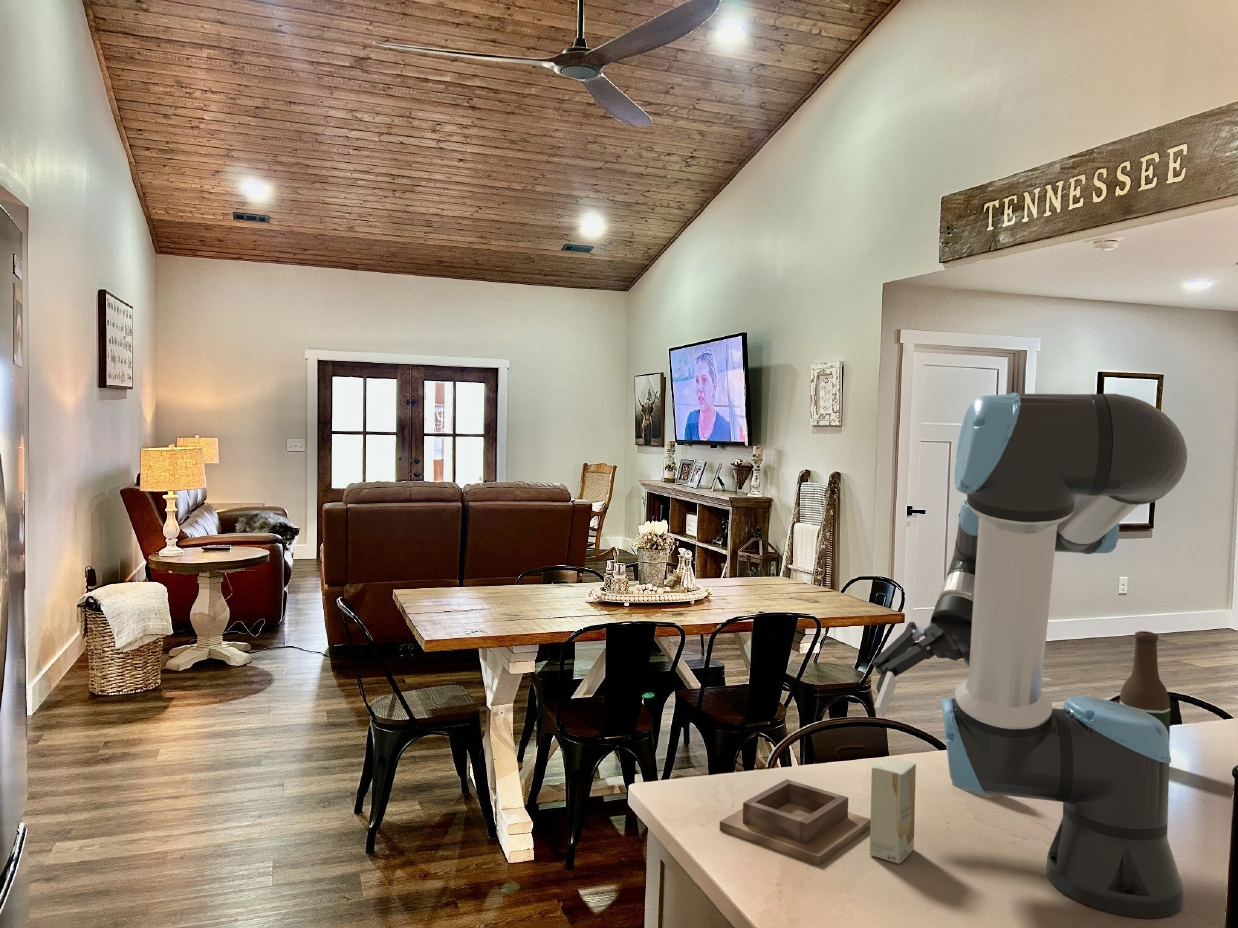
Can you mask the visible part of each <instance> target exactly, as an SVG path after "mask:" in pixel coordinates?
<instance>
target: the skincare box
mask: <svg viewBox="0 0 1238 928" xmlns="http://www.w3.org/2000/svg"><path fill="white" fill-rule="evenodd" d="M916 766H917V763H915V762H911V761H907V760H903V759H900V758H894V757H890V756H886V757H884V758H883V759H882V760H880V761H878V762H877V763H876V764H875V765H873V766H872V767H871V783H870V785H871V786H870V787H871V788H870V792H871V793H870V819H871V823H870V828H869V829H870V834H869V855H870V856H872V857H876V858H879V859H882V860H885V861H888V862H893V863H896V864H901V863H902V862H904V861H905V859H907V858H908V857H909V855H910V854H911V853H912V852H913V851H914V850H915V816H916V815H915V814H916V812H915V811H916V810H915V809H916V772H917V771H916V769H917V767H916Z"/></svg>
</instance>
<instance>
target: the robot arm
mask: <svg viewBox="0 0 1238 928" xmlns="http://www.w3.org/2000/svg"><path fill="white" fill-rule="evenodd" d="M959 432H960V433H959V437H958V442H957V446H956V447H957V449H956V455H955V456H956V457H955V458H956V462H955V467H954V485H955V489H956V490H957V491H958V492H960V493H963V495H966V496H965V497H964V499H963V501H962V504H961V508H960V511H959V513H958V524H957V525H958V526H957V531H956V532H957V533H956V534H957V535H956V539H955V542H954V551H953V555H952V559H951V560H950V561H951V562H950V565H949V568H948V571H947V574H946V575H945V576H946V577H945V579H944V582H943V583H942V587H941V589H940V592H939V595H938V599H937V601H936V604H935V607H934V609H933V612H932V615H931V617H930V621H929V624H928V625H927V626H926V627H923V626H917V625H916V622H914V621H910V622H908V623H907V625H906V627H905V628H904V631H903V632H902V633H901V634H900V635H899V636H898V637H897V638H896V639H895V640H894V641H892V642H891V643H890V644H889V646H887V647H886V648H885V649H884V650H883V651H882V652H881V653H879V655H878V656H877V657H875V658H874V659H873V660H872V661H871V662H872V665H873V667H874V669H875V671H876V672H877V674H879V675H880V676H879V679H878V681H877V684H876V686H875V687H876V691H877V693H878V696H877V697H876V698H877V699H876V701H875V703H874V706H873V707H874V709H875V711H876V713H877V715H878V717H880V718H883V719H884V718H885V716H886V713H887V711H888V707H889V705H890V702H891V700H892V697H893V694H894V691H895V688H896V686H897V684H898V681H897V679H896V677H898V676H900V675H901V674H903V673H904V672H907V670H909V669H911V668H913V667H915V666H916V665H919V664H920V663H922V662H923V661H924V660H930V659H931V658H934V657H935V656H936V658H939V659H949V660H951V661H956V662H957V661H958V660H961V659H963V661H964V662H965V664H966V665H967V667H968V675H967V676H968V677H967V678H964V679H963V680H961V681H960V682H959V683H958V684H957V686H956V687H955V690H954V697H949V698H944V699H943V700H942V701H941V709H942V718H943V720H942V721H943V729H944V736H945V746H946V752H947V753H946V754H947V756H946V757H947V762H948V771H949V777H950V780H951V782H953V783H954V785H956V786H957V788H959V789H961V790H965V791H967V790H968V792H969V791H974V792H980V793H982V794H985V795H989V794H997V795H998V796H1008V797H1013V798H1014V797H1015V798H1024V799H1030V800H1031V799H1033V800H1041V801H1049V802H1050V801H1051V802H1057V803H1058V802H1059V803H1062V817H1061V821H1060V823H1059V826H1058V828H1057V830H1056V833H1055V835H1054V836H1053V837H1054V838H1053V840H1052V842H1051V845H1050V848H1049V850H1048V852H1047V856H1046V877H1047V879H1048V881H1049V882H1050V883H1051V884H1052V885H1053V886H1054V887H1055V888H1056V890H1057V889H1058V890H1059V891H1060V892H1061V893H1063V894H1065V895H1066V896H1068V897H1069V898H1072V900H1076V901H1078V902H1080V903H1081V904H1084V905H1087V906H1089V907H1091V908H1094V909H1096V910H1097V909H1098V910H1101V911H1104V912H1107V913H1113V914H1116V915H1120V916H1126V917H1132V918H1133V917H1134V918H1143V919H1158V918H1165V917H1171V916H1173V915H1175V914H1177V913H1179V912H1180V911H1181V910H1182V908H1183V903H1184V885H1183V882H1182V879H1181V877H1180V874H1179V871H1178V866H1177V864H1176V861H1175V857H1174V855H1173V854H1174V853H1173V852H1172V848H1171V846H1170V842H1169V840H1168V825H1169V824H1168V823H1169V792H1170V791H1169V786H1170V785H1169V783H1170V764H1171V763H1172V757H1171V752H1170V751H1171V750H1170V739H1169V735H1168V731H1167V729H1166V727H1165V726H1164V724H1163V723H1162V722H1161V721H1159V720H1158V719H1157V718H1155V717H1154V716H1152V715H1150V714H1148V713H1146V712H1144V711H1141V710H1139V709H1136V708H1133V707H1130V706H1127V705H1124V704H1121V703H1120V702H1116V701H1113V700H1109V699H1106V698H1105V699H1104V698H1098V697H1093V696H1085V695H1077V696H1076V695H1075V696H1074V695H1072V696H1068V697H1067V698H1066V699H1065V702H1064V703H1063V708H1054V707H1053V705H1052V704H1053V703H1052V700H1051V699H1050V698H1049V696H1048V695H1047V694H1046V692H1044V691H1043V690H1042V683H1043V674H1044V673H1043V672H1044V663H1045V662H1044V661H1045V653H1046V644H1047V642H1046V641H1047V633H1048V632H1047V631H1048V624H1049V614H1050V613H1049V612H1050V602H1051V593H1052V583H1053V571H1054V564H1055V563H1054V561H1055V552H1057V553H1074V554H1075V553H1076V554H1078V553H1079V554H1084V555H1093V554H1109V553H1112V552H1113V551H1114V550H1115V549H1116V547H1117V543H1118V541H1119V537H1120V522H1121V521H1123V519H1124V518H1126V517H1127V516H1128V515H1129V514H1131V512H1133V511H1134V510H1135V509H1136V508H1138V507H1139V506H1140V505H1141V506H1142V505H1146V504H1147V505H1149V504H1151V503H1154V502H1156V501H1158V500H1159V499H1162V498H1163V497H1165V496H1166V495H1167V494H1168V493H1170V492H1171V491H1172V490H1173V489H1174V488H1176V486H1177V484H1179V482H1180V481H1181V479H1182V478H1183V476H1184V473H1185V471H1186V469H1187V463H1188V449H1187V445H1186V441H1185V439H1184V436H1183V434H1182V432H1181V431H1180V429H1179V427H1178V426H1177V425H1176V423H1175V422H1174V421H1173V420H1172V419H1171V418H1170V417H1169V416H1168V415H1167V414H1166V413H1165V412H1163V411H1161V410H1160V409H1159V408H1157V407H1156V406H1154V405H1152V404H1150V403H1149V402H1147V401H1144V400H1141V399H1139V398H1136V397H1133V396H1129V395H1124V394H1119V393H1097V394H1096V393H1093V394H1092V393H1085V394H1084V393H1079V394H1078V393H1019V392H1010V393H1007V394H992V395H991V394H989V395H981V396H980V397H977V398H975V399H974V400H973V401H972V402H971V403H970V404H969V405H968V408H967V409H966V412H965V415H964V417H963V421H962V425H961V428H960V431H959ZM922 637H924V638H922ZM921 638H922V639H921ZM916 642H917V644H916V645H914V644H915V643H916ZM928 646H929V648H928ZM954 785H953V786H954ZM956 786H955V787H956Z"/></svg>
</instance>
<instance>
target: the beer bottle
mask: <svg viewBox="0 0 1238 928" xmlns="http://www.w3.org/2000/svg"><path fill="white" fill-rule="evenodd" d="M1133 638H1134V639H1135V643H1134V644H1135V645H1134V655H1133V664H1132V665H1133V667H1132V671H1131V675H1130V676H1129V677H1128V678H1127V680H1126V681H1125V682H1124V683H1123V686H1122V687H1121V689H1120V692H1119V693H1120V694H1119V703H1121V704H1124V705H1127V706H1130V707H1133V708H1136V709H1139V710H1141V711H1144V712H1146V713H1148V714H1150V715H1152V716H1154V717H1155V718H1157V719H1158V720H1159V721H1161V722H1162V723H1163V724H1164V726H1165V727H1166V729H1167V731H1168V735H1169V740H1170V737H1171V735H1170V734H1171V733H1170V732H1171V731H1170V729H1171V728H1170V727H1171V701H1170V699H1171V698H1170V695H1169V692H1168V690H1167V688H1166V687H1165V685H1164V683H1163V682H1162V681H1161V679H1160V675H1159V668H1158V667H1159V663H1158V662H1159V661H1158V646H1157V641H1159V636H1158V634H1157V633H1155V632H1152V631H1143V630H1139V631H1136V632H1134V636H1133Z"/></svg>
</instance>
